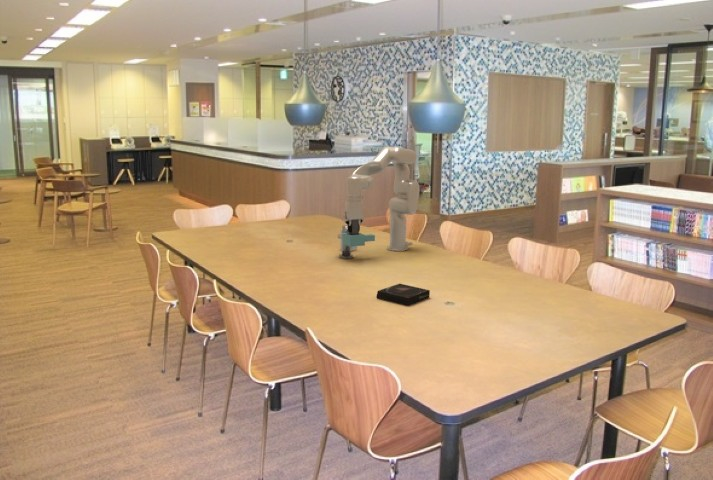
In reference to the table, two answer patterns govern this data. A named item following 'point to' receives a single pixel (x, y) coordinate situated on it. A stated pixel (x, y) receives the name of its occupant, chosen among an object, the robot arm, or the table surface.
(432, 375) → the table surface
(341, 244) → the supplement box
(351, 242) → the teal square frame handle
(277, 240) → the table surface
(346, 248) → the grey tall round-topped piece
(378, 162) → the robot arm
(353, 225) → the steel wedge pin
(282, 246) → the table surface
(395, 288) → the portable cd player
